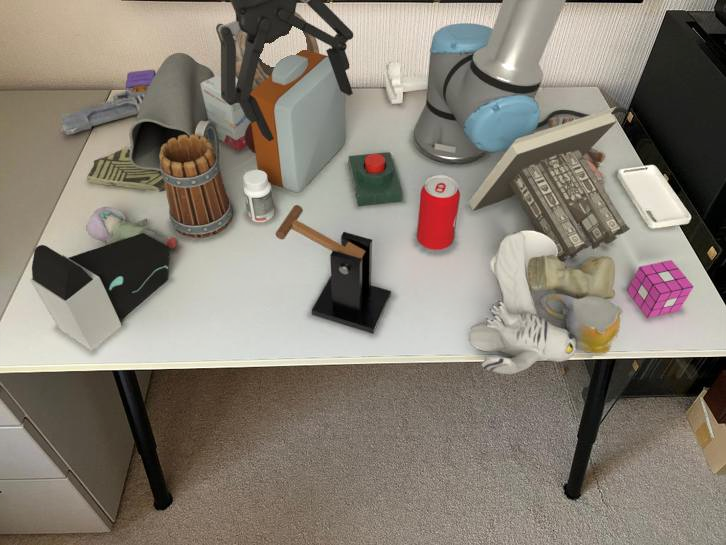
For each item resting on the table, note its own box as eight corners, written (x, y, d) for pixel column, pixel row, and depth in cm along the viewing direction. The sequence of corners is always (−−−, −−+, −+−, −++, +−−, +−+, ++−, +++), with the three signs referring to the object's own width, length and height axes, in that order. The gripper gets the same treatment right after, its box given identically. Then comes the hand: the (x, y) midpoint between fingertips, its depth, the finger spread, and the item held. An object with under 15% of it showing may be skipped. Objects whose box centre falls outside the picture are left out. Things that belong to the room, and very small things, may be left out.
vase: (227, 61, 131) (204, 134, 109) (208, 108, 138) (183, 186, 116) (169, 34, 127) (133, 105, 105) (153, 85, 134) (116, 161, 112)
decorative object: (181, 273, 100) (159, 203, 89) (92, 351, 90) (55, 282, 79) (145, 253, 103) (120, 183, 92) (55, 326, 93) (14, 257, 82)
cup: (555, 292, 98) (565, 262, 93) (494, 300, 97) (501, 271, 92) (537, 257, 103) (546, 227, 98) (479, 264, 102) (485, 234, 97)
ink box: (256, 141, 124) (249, 88, 116) (238, 152, 122) (229, 99, 113) (228, 124, 128) (219, 72, 119) (210, 134, 126) (199, 82, 117)
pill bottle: (279, 209, 111) (275, 172, 105) (266, 226, 108) (260, 189, 102) (256, 202, 112) (251, 165, 106) (242, 218, 109) (235, 181, 103)
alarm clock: (309, 131, 127) (303, 34, 111) (347, 143, 124) (346, 46, 109) (258, 182, 116) (243, 82, 100) (298, 197, 113) (289, 97, 98)
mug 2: (609, 339, 83) (600, 367, 88) (631, 307, 87) (622, 335, 92) (529, 299, 89) (525, 328, 94) (553, 271, 93) (548, 299, 98)
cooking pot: (293, 30, 143) (328, 13, 134) (301, 113, 144) (337, 101, 135) (196, 9, 126) (229, -12, 117) (206, 104, 127) (240, 89, 118)
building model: (468, 202, 111) (516, 289, 106) (515, 139, 93) (576, 241, 88) (555, 171, 118) (604, 252, 113) (616, 106, 99) (677, 199, 95)
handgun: (45, 89, 130) (60, 128, 121) (151, 64, 137) (173, 98, 129) (50, 104, 132) (66, 142, 124) (155, 78, 140) (176, 112, 131)
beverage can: (456, 232, 107) (465, 177, 98) (448, 257, 103) (456, 202, 94) (421, 224, 109) (427, 169, 100) (411, 248, 105) (416, 193, 96)
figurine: (581, 108, 123) (618, 175, 110) (575, 130, 127) (611, 196, 114) (547, 112, 123) (580, 179, 110) (542, 133, 127) (574, 200, 114)
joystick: (391, 108, 133) (483, 101, 134) (393, 76, 127) (488, 69, 129) (383, 81, 140) (470, 74, 142) (384, 49, 134) (474, 43, 136)
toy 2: (540, 222, 89) (581, 290, 96) (458, 248, 96) (501, 309, 104) (532, 354, 73) (581, 423, 80) (434, 373, 80) (487, 435, 88)
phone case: (690, 223, 109) (652, 169, 118) (693, 218, 108) (655, 163, 117) (649, 229, 108) (615, 174, 118) (651, 223, 107) (617, 169, 117)
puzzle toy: (679, 310, 96) (694, 286, 92) (646, 318, 95) (660, 294, 91) (658, 283, 100) (671, 259, 95) (626, 290, 99) (638, 266, 94)
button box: (389, 161, 121) (390, 144, 118) (402, 201, 113) (403, 184, 110) (348, 165, 120) (348, 148, 117) (358, 206, 112) (358, 189, 109)
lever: (273, 238, 87) (277, 228, 85) (291, 211, 91) (295, 200, 89) (349, 280, 87) (355, 270, 85) (364, 251, 91) (370, 241, 89)
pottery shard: (127, 150, 122) (124, 142, 121) (179, 185, 115) (176, 176, 113) (79, 177, 117) (75, 168, 115) (129, 215, 109) (126, 206, 108)
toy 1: (150, 251, 96) (68, 216, 98) (147, 280, 99) (67, 245, 101) (189, 225, 105) (113, 193, 108) (185, 251, 108) (111, 220, 110)
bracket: (311, 315, 95) (306, 257, 85) (332, 278, 100) (329, 220, 90) (373, 334, 93) (375, 276, 83) (391, 295, 98) (394, 237, 88)
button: (382, 160, 115) (383, 152, 114) (386, 172, 112) (386, 164, 111) (363, 162, 114) (363, 154, 113) (366, 174, 112) (366, 166, 111)
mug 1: (221, 244, 105) (204, 174, 94) (162, 235, 106) (139, 164, 95) (250, 185, 115) (239, 116, 104) (196, 178, 117) (179, 108, 106)
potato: (266, 166, 123) (239, 141, 123) (292, 138, 123) (266, 113, 123) (261, 158, 116) (233, 132, 116) (290, 128, 116) (262, 102, 116)
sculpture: (621, 255, 94) (552, 252, 87) (622, 303, 94) (552, 304, 86) (590, 257, 99) (521, 254, 92) (591, 302, 99) (522, 303, 92)
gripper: (319, -79, 82) (365, 68, 96) (150, 5, 77) (225, 147, 91) (346, -75, 76) (391, 80, 90) (166, 16, 71) (243, 166, 85)
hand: (308, 114), depth 91 cm, fingers open, 13 cm apart
